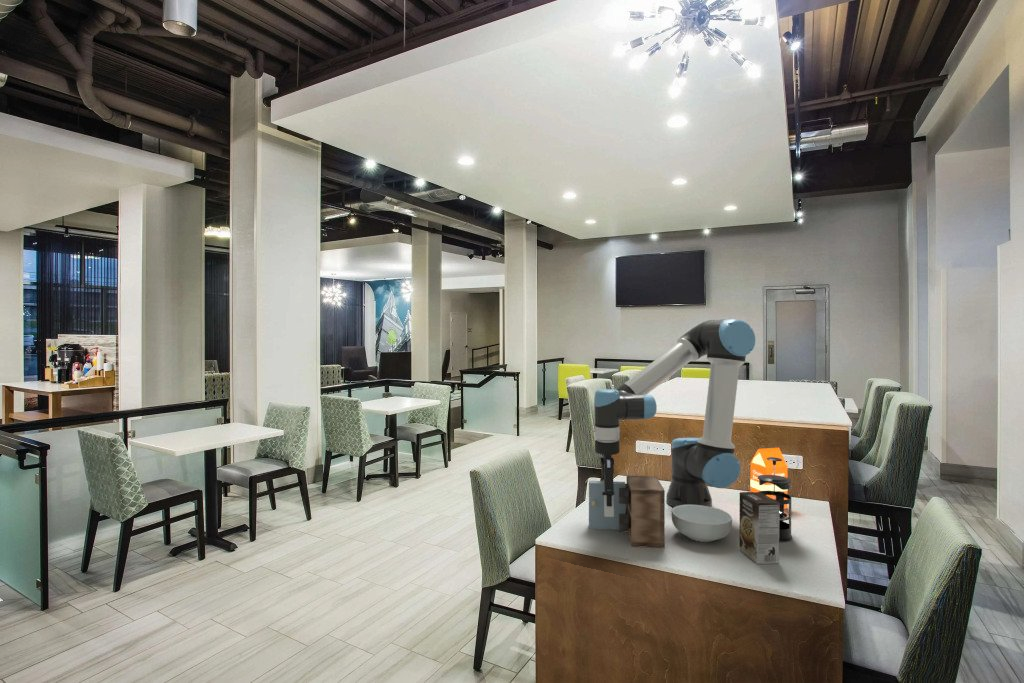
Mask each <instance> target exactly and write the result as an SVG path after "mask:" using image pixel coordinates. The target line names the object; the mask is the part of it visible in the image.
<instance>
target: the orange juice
mask: <svg viewBox="0 0 1024 683" xmlns="http://www.w3.org/2000/svg"><path fill="white" fill-rule="evenodd" d="M768 457H776V458H780V459H782V461H776V465H775V475H778V476H783V477H786V478H788V476H789V474H788V469H789V468H788V467H789V466H788V465H787V462H786V460H785V458H784V456H783V453H782V451H781V449H780V447H769V448H758V449H757V450H756V453H755V454H754V456H753V457H752V459H751V461H750V480H749V482H750V484H749V486H750V492H759V491H774V484H772V483H764V484H763V485H759V479H758V476H759V475H774V465H773V461H770V460H767V459H766V458H768ZM788 490H789V489H787V490H782V489H780V488H779V487H777V486H776V485H775V491H782V492H784V493H786V494H788ZM767 496H768V497H770V498H772V499H774V495H767ZM775 499H776V496H775ZM786 499H787V498H784V500H786ZM784 509H788V504H784Z"/></svg>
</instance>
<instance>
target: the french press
mask: <svg viewBox="0 0 1024 683" xmlns="http://www.w3.org/2000/svg"><path fill="white" fill-rule="evenodd" d="M766 459H767V460H770V461H773V465H774V475H759V476H758V479H759V485H763V484H764V483H772V484H774V491H759V492H761V493H763V494H765V495H774V500H776V501H777V502H779V503H780V519H779V543H781V542H783V543H784V542H789V541H792V539H793V536H792V496H791V495H790V494H788V493H787V494H786V493H784V492H782V491H775V485H776V486H777V487H779V488H780V489H782V490H787V489H788V490H789V489H791V488H790V487H791V486H790V484H791V483H792V482H793V481H792V479H791V478H789V477H787V478H786V477H783V476H778V475H775V465H776V461H782V459H780V458H776V457H768V458H766ZM775 496H776V499H775ZM784 498H787V499H786V500H784ZM784 504H787V505H788V512H785V508H784ZM787 521H788V522H787Z"/></svg>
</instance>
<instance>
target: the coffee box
mask: <svg viewBox="0 0 1024 683" xmlns="http://www.w3.org/2000/svg"><path fill="white" fill-rule="evenodd" d="M779 519H780V503H779V502H777V501H776V500H774V499H772V498H770V497H768V496H767V495H765V494H763V493H761V492H751V491H744V492H743V491H741V492H739V531H738V532H739V533H738V534H739V539H738V540H739V548H738V549H739V550H740V552H741V553H743V554H744V555H745V556H747V557H748V558H749V560H752V561H753V562H754V563H755V564H757V565H764V564H765V565H766V564H767V565H768V564H772V565H773V564H780V557H779V556H780V542H779Z"/></svg>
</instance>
